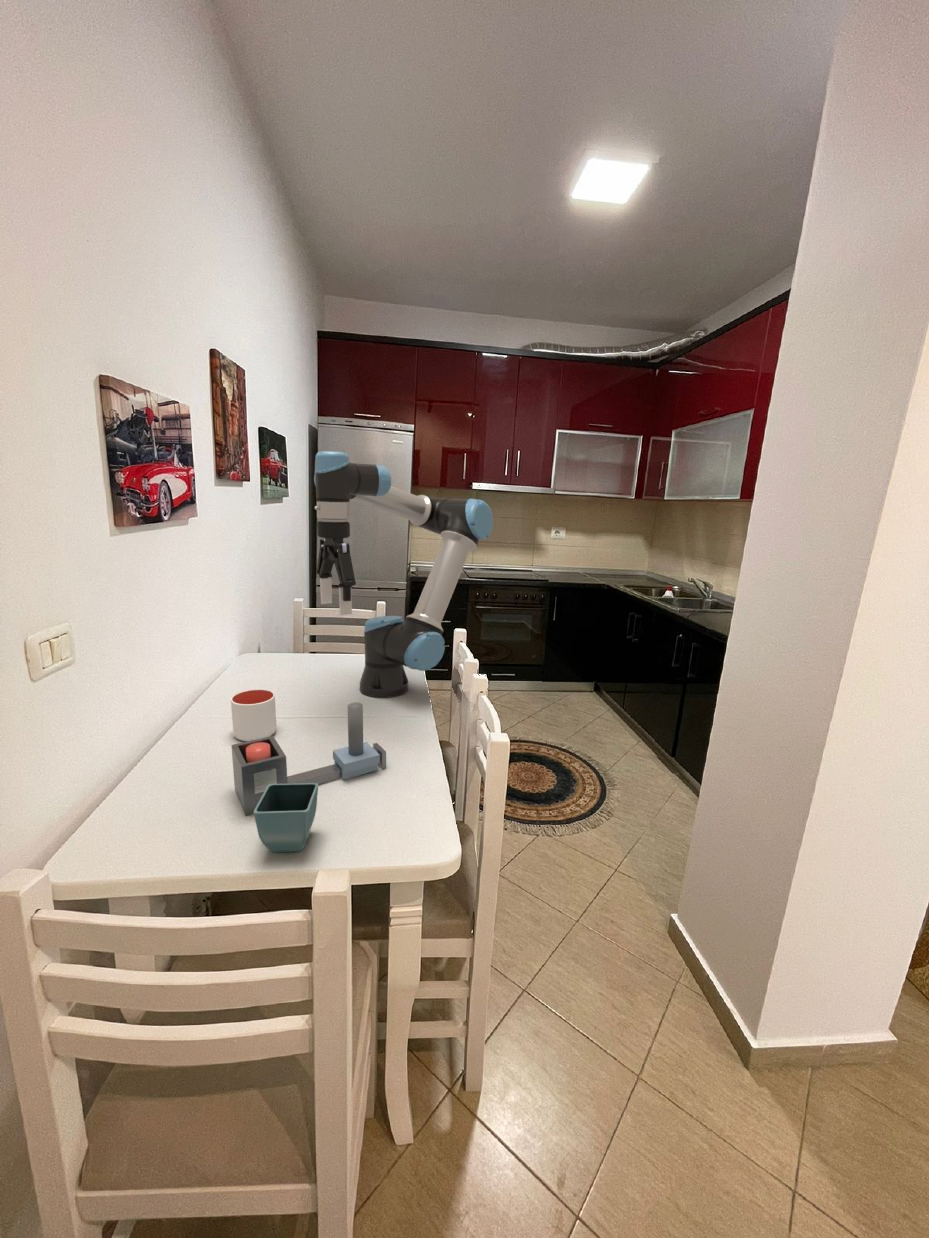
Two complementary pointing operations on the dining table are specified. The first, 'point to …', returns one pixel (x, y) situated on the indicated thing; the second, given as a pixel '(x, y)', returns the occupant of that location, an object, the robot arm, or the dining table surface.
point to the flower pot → (286, 815)
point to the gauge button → (257, 752)
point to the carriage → (356, 747)
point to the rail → (330, 771)
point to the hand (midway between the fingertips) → (335, 608)
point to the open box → (257, 772)
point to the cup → (253, 714)
